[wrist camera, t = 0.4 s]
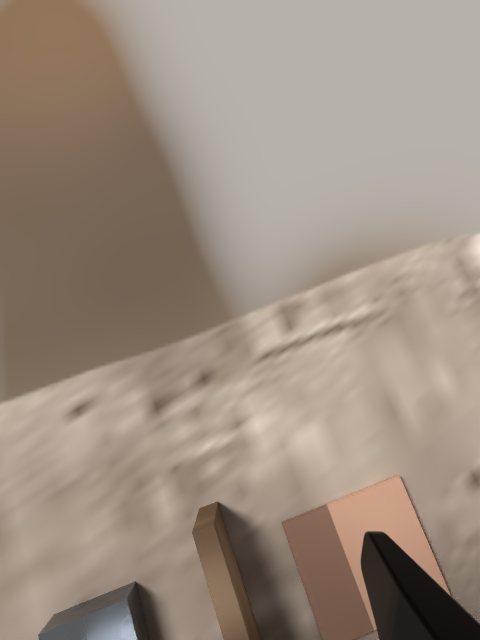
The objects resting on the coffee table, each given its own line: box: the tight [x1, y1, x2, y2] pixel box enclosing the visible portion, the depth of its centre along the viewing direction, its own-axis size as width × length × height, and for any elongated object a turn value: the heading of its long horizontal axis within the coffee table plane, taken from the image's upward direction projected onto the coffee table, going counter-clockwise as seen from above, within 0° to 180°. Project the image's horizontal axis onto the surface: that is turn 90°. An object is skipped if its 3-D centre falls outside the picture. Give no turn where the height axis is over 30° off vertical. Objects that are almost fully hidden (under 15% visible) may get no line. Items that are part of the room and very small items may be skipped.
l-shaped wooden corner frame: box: [192, 502, 261, 640], centre depth 17 cm, size 14×15×3 cm
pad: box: [282, 475, 451, 640], centre depth 18 cm, size 7×8×1 cm
